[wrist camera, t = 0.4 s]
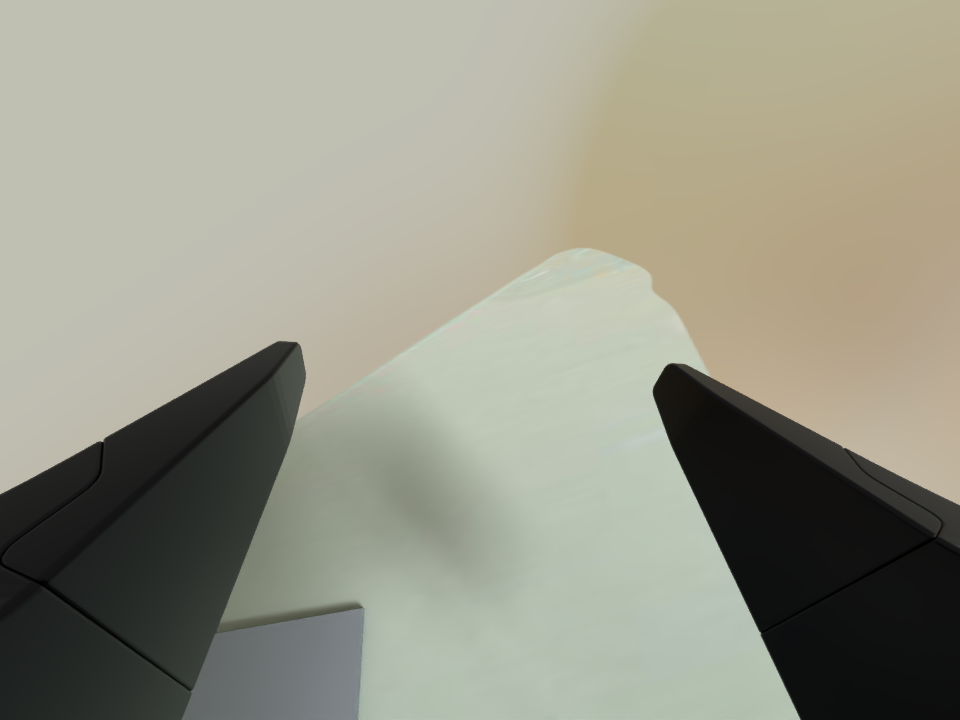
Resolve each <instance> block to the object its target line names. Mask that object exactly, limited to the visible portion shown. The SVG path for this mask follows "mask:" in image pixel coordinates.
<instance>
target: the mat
mask: <svg viewBox="0 0 960 720" xmlns="http://www.w3.org/2000/svg"><path fill="white" fill-rule="evenodd" d="M363 620H364V609H363V608H359V609H354V610H348V611H342V612H337V613H331V614H325V615H319V616H314V617H308V618H302V619H296V620H291V621H285V622H279V623H273V624H268V625H262V626H256V627H250V628H245V629H239V630H233V631H227V632H222V633H216V634H215V636H214V638H213V641H212V643H211V646H210V649H209V651H208V654H207V656H206V659H205V661H204V664H203V666H202V669H201V672H200V674H199V677H198V679H197V682H196V684H195V687H194V689H193V690H192V691H191V692H192V695H191V698H190V700H189V703H188V706H187V708H186V711H185V713H184V716H183V718H182V720H358V704H359V688H360V671H361V654H362V637H363Z"/></svg>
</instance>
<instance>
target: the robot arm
mask: <svg viewBox="0 0 960 720" xmlns="http://www.w3.org/2000/svg"><path fill="white" fill-rule="evenodd" d="M305 379H306V372H305V366H304V361H303V355H302V350H301V347H300V345H299V344H298V343H297V342H286V341H278V342H276V343H274V344H272V345H270V346H268V347H267V348H265V349H263V350H261V351H259V352H258V353H256V354H254V355H252V356H251V357H249V358H247V359H245V360H243V361H242V362H240V363H238V364H236V365H234V366H233V367H231V368H229V369H227V370H226V371H224V372H222V373H220V374H218V375H217V376H215V377H213V378H211V379H210V380H208V381H206V382H204V383H202V384H201V385H199V386H197V387H195V388H193V389H192V390H190V391H188V392H186V393H184V394H183V395H181V396H179V397H178V398H176V399H174V400H172V401H171V402H168V403H167V404H165V405H163V406H161V407H160V408H158V409H156V410H154V411H152V412H151V413H149V414H147V415H145V416H143V417H142V418H140V419H138V420H136V421H135V422H133V423H131V424H129V425H127V426H125V427H124V428H122V429H120V430H118V431H117V432H115V433H113V434H111V435H109V436H108V437H106V438H105V439H104V441H103V442H101V441H100V442H97V443H95V444H93V445H91V446H90V447H88V448H86V449H84V450H83V451H81V452H79V453H77V454H75V455H73V456H72V457H70V458H68V459H66V460H65V461H62V462H61V463H59V464H57V465H55V466H54V467H52V468H50V469H48V470H46V471H44V472H42V473H40V474H38V475H37V476H35V477H33V478H31V479H29V480H28V481H25V482H24V483H22V484H20V485H18V486H16V487H14V488H12V489H10V490H8V491H6V492H4V493H2V494H0V720H182V718H183V716H184V713H185V711H186V708H187V706H188V703H189V700H190V698H191V695H192V692H191V691H192V690H193V689H194V687H195V684H196V682H197V679H198V677H199V674H200V672H201V669H202V666H203V664H204V661H205V659H206V656H207V654H208V651H209V649H210V646H211V643H212V641H213V638H214V636H215V633H216V631H217V628H218V626H219V623H220V620H221V618H222V615H223V613H224V610H225V608H226V605H227V603H228V600H229V597H230V595H231V592H232V590H233V587H234V585H235V582H236V580H237V577H238V574H239V572H240V569H241V567H242V564H243V562H244V559H245V556H246V554H247V551H248V549H249V546H250V544H251V541H252V539H253V536H254V533H255V531H256V528H257V526H258V523H259V521H260V518H261V516H262V513H263V510H264V508H265V505H266V503H267V500H268V498H269V495H270V493H271V490H272V487H273V485H274V482H275V480H276V477H277V475H278V472H279V470H280V467H281V464H282V462H283V459H284V457H285V454H286V452H287V449H288V446H289V443H290V440H291V436H292V433H293V429H294V425H295V421H296V417H297V413H298V409H299V405H300V401H301V396H302V393H303V389H304V384H305ZM653 396H654V399H655V402H656V405H657V408H658V411H659V413H660V416H661V419H662V422H663V425H664V427H665V430H666V433H667V436H668V438H669V441H670V444H671V446H672V448H673V451H674V453H675V455H676V457H677V459H678V461H679V463H680V466H681V468H682V470H683V472H684V474H685V476H686V478H687V480H688V482H689V485H690V487H691V489H692V491H693V493H694V495H695V497H696V499H697V501H698V503H699V506H700V508H701V510H702V512H703V514H704V516H705V518H706V520H707V522H708V525H709V527H710V529H711V531H712V533H713V535H714V537H715V539H716V541H717V544H718V546H719V548H720V550H721V552H722V554H723V556H724V558H725V560H726V563H727V565H728V567H729V569H730V571H731V573H732V575H733V577H734V579H735V581H736V584H737V586H738V588H739V590H740V592H741V594H742V596H743V598H744V600H745V603H746V605H747V607H748V609H749V611H750V613H751V615H752V617H753V619H754V622H755V624H756V626H757V628H758V630H759V632H761V637H762V639H763V641H764V643H765V646H766V648H767V650H768V652H769V654H770V656H771V658H772V660H773V662H774V665H775V667H776V669H777V671H778V673H779V675H780V677H781V679H782V681H783V684H784V686H785V688H786V690H787V692H788V694H789V696H790V698H791V700H792V703H793V705H794V707H795V709H796V711H797V713H798V715H799V717H800V719H801V720H960V505H958V504H956V503H954V502H952V501H949V500H948V499H945V498H943V497H941V496H939V495H937V494H935V493H933V492H931V491H929V490H927V489H925V488H923V487H921V486H919V485H917V484H914V483H913V482H911V481H909V480H907V479H905V478H903V477H901V476H898V475H896V474H895V473H893V472H891V471H889V470H887V469H885V468H883V467H881V466H879V465H877V464H875V463H873V462H871V461H869V460H867V459H865V458H864V457H862V456H860V455H858V454H856V453H854V452H852V451H850V450H848V449H846V448H843V447H842V446H840V445H838V444H837V443H835V442H833V441H831V440H829V439H827V438H825V437H823V436H821V435H819V434H818V433H816V432H814V431H812V430H810V429H808V428H806V427H804V426H802V425H800V424H798V423H797V422H795V421H793V420H791V419H789V418H787V417H785V416H783V415H781V414H779V413H777V412H776V411H774V410H772V409H770V408H768V407H766V406H764V405H762V404H760V403H758V402H756V401H754V400H753V399H751V398H749V397H747V396H745V395H743V394H741V393H739V392H737V391H735V390H734V389H732V388H730V387H728V386H726V385H724V384H722V383H720V382H718V381H716V380H714V379H713V378H711V377H709V376H707V375H705V374H703V373H701V372H699V371H697V370H695V369H693V368H692V367H690V366H688V365H685V364H676V363H671V364H668V365H667V366H666V367H665V368H664V370H663V371H662V373H661V375H660V376H659V378H658V380H657V382H656V383H655V385H654V387H653Z"/></svg>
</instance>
